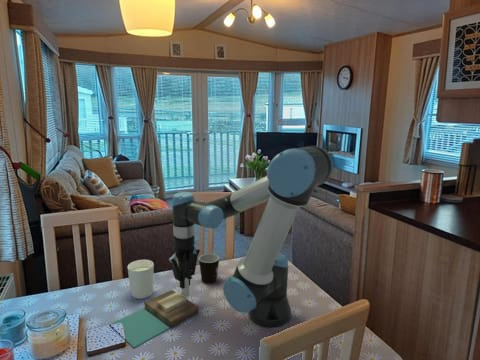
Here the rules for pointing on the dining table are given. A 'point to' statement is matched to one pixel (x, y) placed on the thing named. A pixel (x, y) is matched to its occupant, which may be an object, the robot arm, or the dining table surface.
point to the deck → (173, 315)
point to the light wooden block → (171, 302)
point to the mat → (141, 327)
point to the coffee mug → (209, 267)
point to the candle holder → (141, 278)
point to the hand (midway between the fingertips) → (185, 294)
